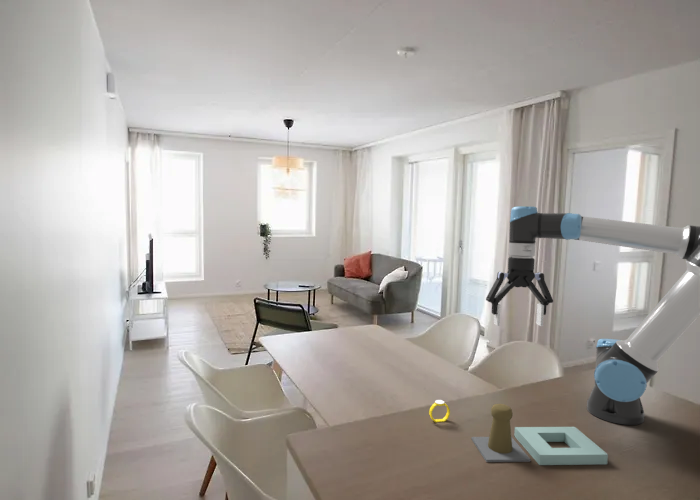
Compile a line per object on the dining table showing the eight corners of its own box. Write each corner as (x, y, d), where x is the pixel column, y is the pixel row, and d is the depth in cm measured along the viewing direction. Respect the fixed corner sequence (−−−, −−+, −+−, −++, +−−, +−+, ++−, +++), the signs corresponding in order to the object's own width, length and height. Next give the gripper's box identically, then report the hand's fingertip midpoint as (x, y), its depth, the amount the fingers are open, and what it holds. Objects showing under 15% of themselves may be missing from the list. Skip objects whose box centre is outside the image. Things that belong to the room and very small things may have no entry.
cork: (516, 447, 111) (518, 405, 110) (506, 456, 106) (508, 413, 106) (493, 438, 115) (495, 398, 114) (483, 447, 110) (485, 405, 110)
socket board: (574, 435, 119) (574, 426, 119) (607, 464, 105) (607, 454, 105) (514, 435, 118) (514, 427, 118) (539, 465, 104) (539, 455, 104)
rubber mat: (511, 438, 116) (511, 436, 116) (530, 461, 105) (530, 459, 105) (471, 439, 116) (471, 436, 116) (486, 462, 105) (486, 459, 105)
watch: (432, 425, 124) (431, 405, 123) (428, 420, 127) (427, 401, 126) (451, 422, 125) (450, 402, 125) (447, 417, 128) (446, 398, 127)
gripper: (486, 257, 127) (483, 327, 129) (567, 258, 129) (563, 328, 130) (477, 255, 135) (474, 321, 136) (554, 256, 136) (551, 322, 138)
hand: (518, 325), depth 133 cm, fingers open, 13 cm apart
